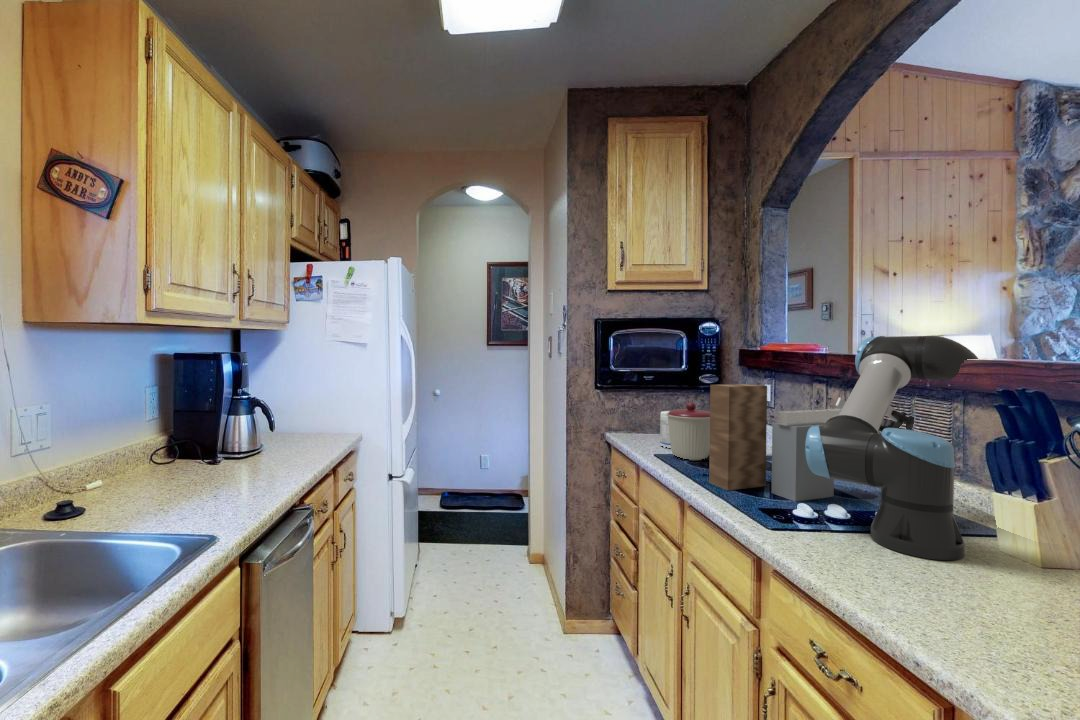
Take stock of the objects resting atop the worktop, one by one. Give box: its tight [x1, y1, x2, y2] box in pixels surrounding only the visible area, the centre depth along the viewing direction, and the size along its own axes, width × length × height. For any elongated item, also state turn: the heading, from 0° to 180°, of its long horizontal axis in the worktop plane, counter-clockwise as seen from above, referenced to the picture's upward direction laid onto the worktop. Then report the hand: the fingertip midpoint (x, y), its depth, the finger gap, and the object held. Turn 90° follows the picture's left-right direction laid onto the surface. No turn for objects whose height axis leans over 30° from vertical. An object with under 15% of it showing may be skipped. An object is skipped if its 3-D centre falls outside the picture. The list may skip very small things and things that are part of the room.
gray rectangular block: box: [770, 422, 835, 502], centre depth 131 cm, size 14×8×20 cm, turn 110°
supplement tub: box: [659, 410, 671, 446], centre depth 197 cm, size 10×10×15 cm
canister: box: [666, 401, 710, 461], centre depth 177 cm, size 18×18×21 cm
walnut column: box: [708, 383, 768, 491], centre depth 141 cm, size 14×8×30 cm, turn 110°
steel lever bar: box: [776, 408, 842, 426], centre depth 132 cm, size 25×4×4 cm, turn 109°
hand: (859, 403), depth 138 cm, fingers open, 13 cm apart
